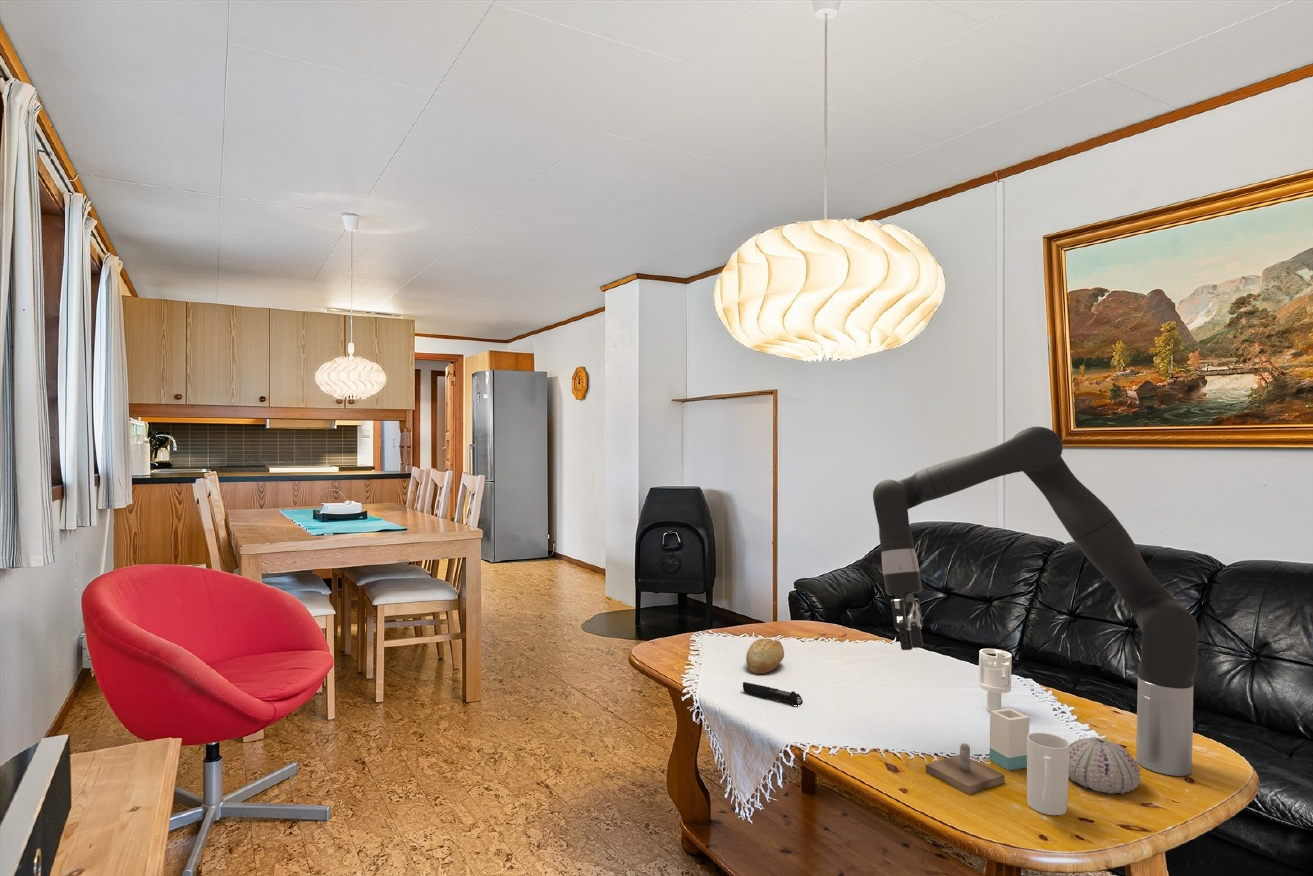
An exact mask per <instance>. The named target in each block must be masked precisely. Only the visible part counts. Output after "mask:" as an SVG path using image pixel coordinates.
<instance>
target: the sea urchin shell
mask: <svg viewBox="0 0 1313 876" xmlns="http://www.w3.org/2000/svg"><path fill="white" fill-rule="evenodd" d="M1140 771H1141V770H1140V768H1139V764H1138V762H1137V761H1136V759H1135V758H1134V757H1133V756H1132V755H1131V754H1130V753H1129V752H1128V750H1126V749H1125V748H1124V747H1122V746H1121V745H1120V744H1118V743H1116V742H1113V741H1110V740H1107V739H1105V738H1101V737H1098V736H1092V737H1086V738H1085V737H1083V738H1079V739H1077V740H1074V741H1073V742H1071V743H1070V757H1069V777H1068V778H1070V780H1071V781H1073V782H1074V783H1077V784H1078V785H1080V786H1083V787H1085V788H1090V789H1091V790H1092V791H1096V792H1098V793H1106V794H1111V795H1113V794H1116V793H1118V794H1126V793H1129V792H1132V791H1134V790H1135V789H1136V788H1138V786H1139V785H1140V782H1142V781H1141V776H1142V774H1141V772H1140Z"/></svg>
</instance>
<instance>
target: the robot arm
mask: <svg viewBox="0 0 1313 876" xmlns="http://www.w3.org/2000/svg"><path fill="white" fill-rule="evenodd" d="M1062 453H1063V441H1062V440H1061V438H1060V436H1059V435H1058V434H1057V433H1056V432H1055V431H1054V430H1053V429H1050V428H1047V427H1043V426H1031V427H1028V428H1025V429H1023V430H1021V431H1019V432H1018V433H1016V434H1015V435H1014V436H1013V437H1012V438H1009V439H1008V440H1006V441H1004V442H1002V443H1000V444H997V445H995V446H993V447H990V448H987V449H985V450H981V451H978V452H975V453H972V454H969V455H966V456H961V457H958V458H957V457H956V458H954V459H951V460H950V459H949V460H946V461H944V462H940V463H938V464H934V465H932V466H929V467H926V468H923V469H920V470H919V471H917V472H915V473H914V474H912V475H911V476H908V477H906V478H902V479H900V480H894V479H884V480H882V481H880V482H878V483H877V484H876V485H875V486H874V489H873V491H872V499H873V505H874V511H875V515H876V520H877V524H878V536H879V544H880V551H881V566H882V567H881V568H882V573H883V580H884V588H885V594H886V595H888V596H895V598H891V599H890V605H891V606H890V607H891V613H892V614H891V615H892V619H893V621H892V622H893V627H894V629H895V630H896V631H897V632H898V635H899V636H898V637H899V643H900V649H901V650H902V651H911V650H913V649H918V648H919V649H921V648H923V646H924V644H923V636H922V632H921V630H922V627H923V626H924V622H923V615H922V611H921V610H922V609H921V604H920V601H921V600H920V599H919V598H915V596H914V594H919V593H922V591H923V587H922V586H923V585H922V580H921V572H920V566H919V561H918V557H917V556H918V555H917V553H916V550H915V542H914V537H913V532H912V528H911V525H910V518H909V510H910V509H913V508H914V507H917V506H919V505H922V504H923V503H926V502H929V501H933V500H937V499H939V498H943V497H946V496H950V495H953V494H956V493H957V492H961V491H963V490H966V489H969V488H972V487H973V486H976V485H979V484H982V483H984V482H987V481H990V480H993V479H996V478H998V477H1004V476H1007V475H1011V474H1015V473H1021V472H1023V473H1024V475H1026V476H1027V477H1028V479H1030V480H1031V482H1032V483H1033V484H1034V485H1035V487H1037V488H1038V490H1039V491H1040V492H1041V494H1042V495H1043V496H1044V497H1045V499H1046V500H1047V502H1048V503H1049V505H1050V507H1051V509H1052V510H1053V511H1054V514H1055V515H1056V516H1057V518H1058V519H1059V521H1060V523H1061V524H1062V525H1063V526H1064V528H1065V530H1066V531H1067V533H1068V535H1069V536H1070V537H1071V538H1072V540H1073V542H1075V544H1076V545H1077V547H1078V548H1079V549H1080V550H1081V552H1082V554H1084V556H1085V557H1086V558H1087V560H1088V561H1089V562H1090V563H1091V565H1093V566H1094V568H1095V569H1097V571H1098V572H1099V573H1100V574H1101V575H1103V577H1104V578H1105V579H1106V580H1107V581H1108V582H1109V583H1111V585H1112V586H1113V587H1114V589H1115V590H1116V591H1117V592H1118V594H1119V595H1120V597H1121V598H1122V600H1123V601H1124V603H1125V604H1126V607H1127V608H1128V610H1129V611H1130V613H1131V614H1132V617H1133V618H1134V620H1135V622H1136V625H1137V626H1138V628H1139V630H1140V631H1141V652H1140V653H1141V657H1140V661H1139V663H1138V665H1137V700H1136V701H1137V702H1136V703H1137V707H1136V708H1137V709H1136V737H1135V738H1136V740H1135V743H1136V745H1135V761H1136V763H1137V764H1138V765H1140V766H1141V767H1143V768H1145V769H1147V770H1149V771H1153V772H1155V773H1159V774H1162V775H1168V776H1175V777H1183V776H1189V775H1191V774H1192V767H1193V741H1194V740H1193V733H1194V732H1193V730H1194V720H1193V719H1194V717H1193V716H1194V715H1193V713H1194V685H1195V684H1194V682H1195V681H1194V679H1195V676H1196V673H1197V669H1198V657H1199V656H1198V655H1199V652H1198V651H1199V627H1198V622H1197V621H1196V619H1195V617H1194V615H1193V614H1192V613H1191V612H1190V611H1189V610H1188V609H1187V608H1185V607H1184V606H1183V605H1182V604H1181V603H1180V602H1178V601H1177V600H1176V599H1175V598H1174V597H1173V596H1172V595H1171V594H1170V593H1169V591H1167V589H1165V587H1164V586H1163V585H1162V584H1161V583H1160V581H1158V580H1157V578H1156V577H1155V575H1153V573H1152V572H1151V571H1150V569H1149V568H1148V566H1147V564H1146V562H1145V561H1144V559H1143V557H1142V554H1141V552H1140V551H1139V550H1138V547H1137V546H1136V544H1135V542H1134V540H1133V539H1132V537H1131V536H1130V534H1129V533H1128V532H1127V530H1126V528H1125V527H1124V526H1123V524H1121V522H1120V520H1119V519H1118V518H1117V517H1116V516H1115V514H1114V512H1112V510H1111V509H1110V508H1109V507H1108V506H1107V505H1106V504H1105V503H1104V502H1103V501H1102V500H1101V499H1100V498H1099V497H1097V495H1096V494H1094V493H1093V492H1092V491H1091V490H1090V489H1089V488H1087V487H1086V486H1085V485H1084V483H1082V482H1081V481H1080V480H1079V479H1078V478H1077V477H1076V476H1075V474H1074V473H1073V472H1072V471H1071V469H1070V468H1069V467H1068V465H1067V463H1066V462H1065V461H1064V459H1063V457H1062Z"/></svg>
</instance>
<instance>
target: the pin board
mask: <svg viewBox="0 0 1313 876" xmlns="http://www.w3.org/2000/svg"><path fill="white" fill-rule="evenodd" d="M925 773H927V774H929V775H931V776H933V777H935V778H936V779H939V781H942V782H944V783H946V784H948V785H949V786H952V787H954V789H955V788H956V789H957V790H959V791H961V792H963V793H965V794H968V795H971V794H974V793H977V792H980V791H984V790H987V789H989V788H992V787H995V786H998V785H1001V784H1004V783H1005V782H1006V781H1005V777H1006V776H1005V774H1004V773H1001V772H999V771H998V770H995V769H994V768H990V767H989V766H987V765H985V764H982V763H980V762H979V761H976V760H975V759H972V758H971V747H970V745H969V744H968V743H965V742H964V743H961V744H960V746H959V754H957V755H956V754H955V755H953V756H949V757H947V758H942V759H939V760H936V761H933V762H930V763H926V764H925Z"/></svg>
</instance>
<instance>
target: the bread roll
mask: <svg viewBox="0 0 1313 876" xmlns="http://www.w3.org/2000/svg"><path fill="white" fill-rule="evenodd" d="M784 658H785V650H784V647H783V644H782V643H781V641H779V640H777V639H774V640H773V639H771V638H759V639H756V640H754V641H753V642H752V643H751V645H750V646H749V648H748V650H747V652H746V657H745V662H746V665H747V668H748V669H749V670H750V672H751V673H754V674H755V675H762V674H766V673H769V672H771V671H773V670H774V669H776V667H778V666H779V664H780V663H781V662H782V661H783V659H784Z"/></svg>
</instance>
